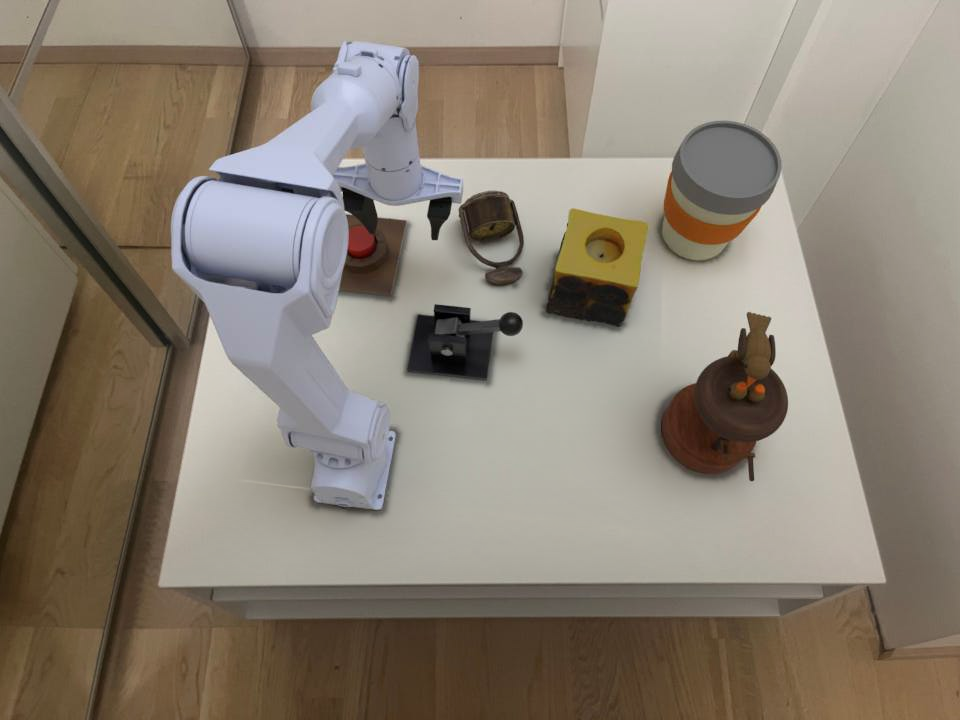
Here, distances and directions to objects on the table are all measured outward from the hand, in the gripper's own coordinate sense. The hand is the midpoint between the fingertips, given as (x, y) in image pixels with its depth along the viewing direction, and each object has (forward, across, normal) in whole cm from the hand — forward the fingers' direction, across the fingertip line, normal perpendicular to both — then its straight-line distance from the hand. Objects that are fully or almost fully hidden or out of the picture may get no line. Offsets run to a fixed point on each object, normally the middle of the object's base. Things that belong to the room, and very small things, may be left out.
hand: (404, 230), depth 81 cm
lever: (+5, -11, +10) cm, 16 cm away
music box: (+10, -39, +19) cm, 44 cm away
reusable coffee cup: (+10, -38, -11) cm, 41 cm away
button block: (+10, +7, -2) cm, 13 cm away
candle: (+10, -24, 0) cm, 26 cm away
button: (+7, +7, -2) cm, 11 cm away
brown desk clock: (+10, -10, -6) cm, 15 cm away
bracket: (+10, -7, +10) cm, 16 cm away
